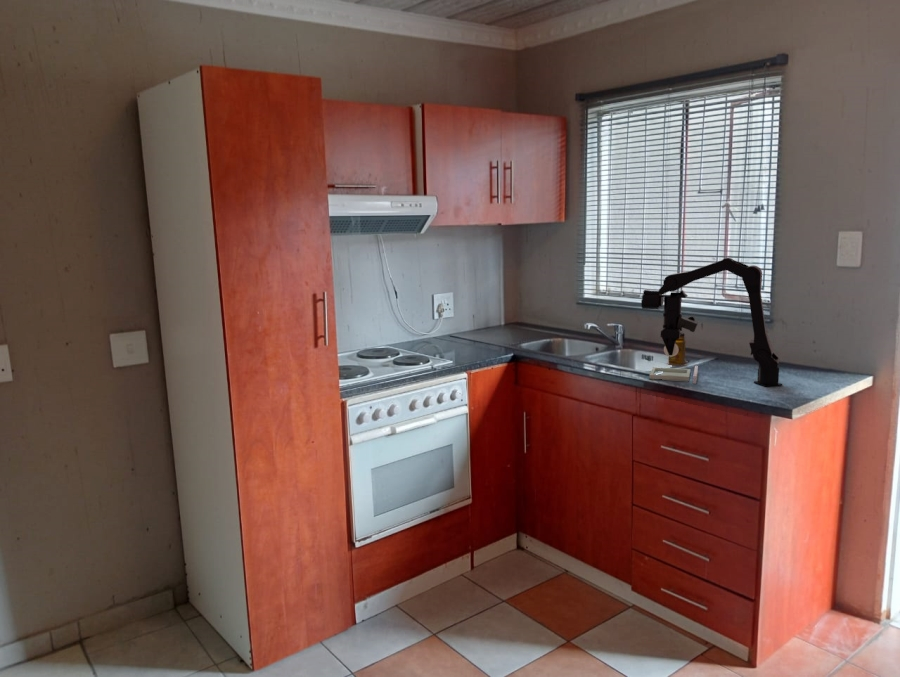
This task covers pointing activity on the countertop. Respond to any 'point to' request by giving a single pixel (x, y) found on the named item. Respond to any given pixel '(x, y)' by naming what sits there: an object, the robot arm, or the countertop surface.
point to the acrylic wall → (695, 374)
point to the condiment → (679, 353)
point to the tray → (671, 374)
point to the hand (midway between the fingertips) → (671, 353)
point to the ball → (673, 351)
